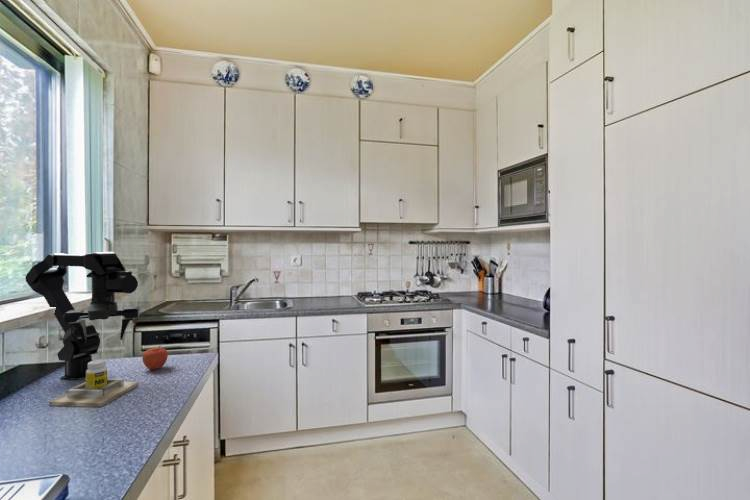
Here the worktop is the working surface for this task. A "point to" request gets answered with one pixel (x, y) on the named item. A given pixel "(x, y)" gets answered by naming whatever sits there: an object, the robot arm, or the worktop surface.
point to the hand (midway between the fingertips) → (103, 341)
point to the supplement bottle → (96, 374)
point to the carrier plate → (94, 394)
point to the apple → (155, 358)
